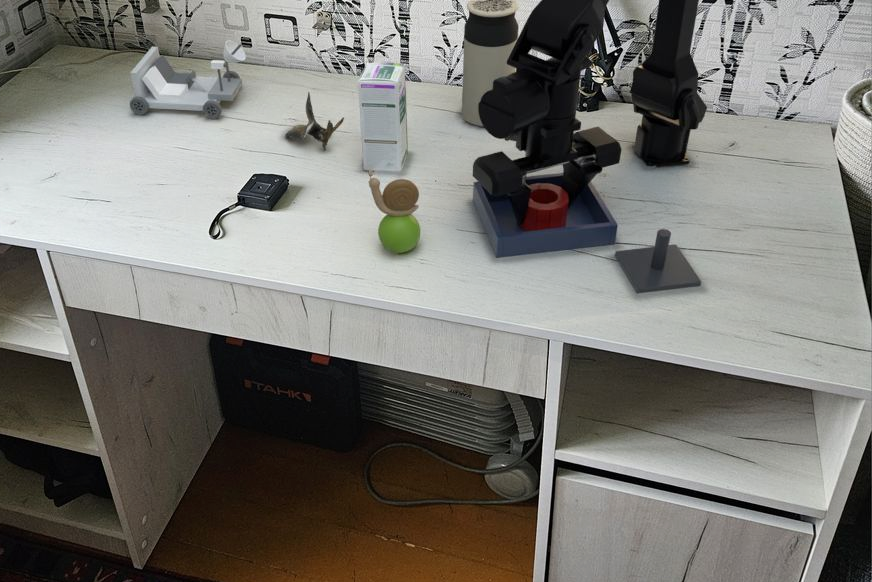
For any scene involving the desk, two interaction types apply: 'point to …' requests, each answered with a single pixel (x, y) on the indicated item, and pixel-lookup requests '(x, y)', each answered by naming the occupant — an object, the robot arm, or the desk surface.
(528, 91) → the robot arm
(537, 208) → the ring
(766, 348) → the desk surface
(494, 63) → the travel mug
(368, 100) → the syrup box
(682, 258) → the ring stand
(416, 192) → the snail figurine
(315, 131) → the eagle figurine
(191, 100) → the toy buggy
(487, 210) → the box
